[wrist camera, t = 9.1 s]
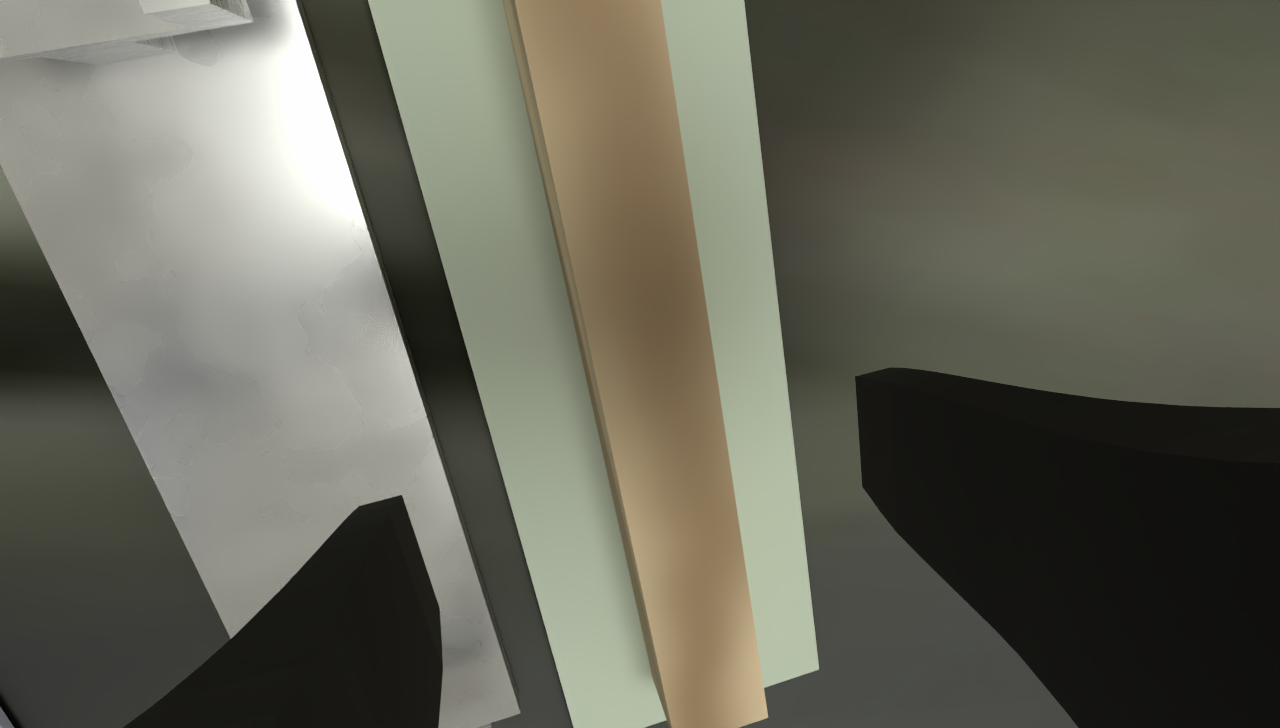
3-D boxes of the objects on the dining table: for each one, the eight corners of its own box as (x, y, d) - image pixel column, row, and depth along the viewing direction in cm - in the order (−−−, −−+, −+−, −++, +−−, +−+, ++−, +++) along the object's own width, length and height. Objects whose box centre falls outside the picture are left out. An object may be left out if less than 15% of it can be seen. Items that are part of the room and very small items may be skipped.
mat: (577, 735, 26) (579, 748, 25) (307, -220, 16) (302, -232, 15) (811, 658, 27) (819, 669, 26) (704, -267, 17) (713, -280, 16)
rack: (306, 762, 23) (259, 954, 18) (-69, -27, 15) (-358, -103, 10) (518, 695, 24) (534, 857, 19) (277, -77, 16) (186, -170, 11)
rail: (652, 677, 25) (676, 748, 22) (471, -141, 16) (472, -193, 13) (734, 651, 25) (768, 717, 22) (601, -159, 17) (629, -213, 14)
